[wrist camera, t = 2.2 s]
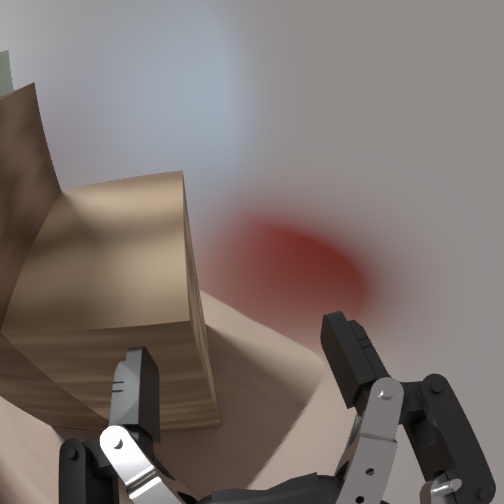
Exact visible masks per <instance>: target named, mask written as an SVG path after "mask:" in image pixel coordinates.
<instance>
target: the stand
mask: <svg viewBox="0 0 504 504" xmlns="http://www.w3.org/2000/svg"><path fill="white" fill-rule="evenodd" d="M143 346H145V347H146V348H147V350H148V352H149V353H150V355H151V357H152V358H153V360H154V361H155V363H156V365H157V367H158V370H159V407H160V431H167V430H182V429H194V428H204V427H212V426H220V425H221V420H220V415H219V409H218V404H217V398H216V392H215V386H214V380H213V374H212V368H211V361H210V354H209V348H208V341H207V333H206V326H205V320H204V315H203V309H202V304H201V298H200V292H199V287H198V280H197V274H196V268H195V262H194V255H193V249H192V242H191V234H190V227H189V219H188V212H187V204H186V195H185V187H184V178H183V171H174V172H166V173H159V174H152V175H145V176H139V177H132V178H125V179H119V180H114V181H108V182H103V183H97V184H92V185H87V186H83V187H77V188H73V189H68V190H64V191H61V189H60V186H59V183H58V180H57V177H56V173H55V170H54V167H53V164H52V160H51V157H50V153H49V149H48V146H47V142H46V138H45V134H44V130H43V126H42V121H41V117H40V112H39V107H38V102H37V96H36V90H35V84H34V83H31V84H29V85H26V86H24V87H22V88H19V89H17V90H15V91H13V92H10V93H8V94H6V95H4V96H2V97H0V396H1V397H3V398H4V399H6V400H7V401H9V402H10V403H12V404H13V405H15V406H17V407H18V408H20V409H22V410H23V411H25V412H27V413H28V414H30V415H32V416H34V417H35V418H37V419H39V420H41V421H43V422H44V423H46V424H48V425H50V426H55V427H63V428H72V429H83V430H97V431H105V430H106V429H108V426H109V421H110V408H111V397H112V393H113V391H112V387H113V384H114V383H113V378H114V371H115V369H116V367H117V365H118V363H119V362H120V361H126V354H127V350H128V348H134V347H143Z"/></svg>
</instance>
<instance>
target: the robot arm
mask: <svg viewBox="0 0 504 504" xmlns="http://www.w3.org/2000/svg"><path fill="white" fill-rule="evenodd" d="M320 339H321V345H322V348H323V350H324V353H325V355H326V358H327V360H328V362H329V365H330V367H331V370H332V372H333V375H334V377H335V379H336V382H337V384H338V386H339V389H340V392H341V394H342V397H343V399H344V401H345V404H346V406H347V409H349V408H352V407H355V408H356V411H357V415H356V418H355V421H354V424H353V428H352V431H351V434H350V437H349V440H348V443H347V445H346V448H345V451H344V453H343V455H342V457H341V459H340V462H339V464H338V467H337V469H336V472H335V474H334V476H328V475H317V473H316V472H315V473H312V474H308V475H305V476H300V477H296V478H292V479H290V480H287V481H285V482H283V483H281V484H279V485H277V486H275V487H272V488H270V489H268V490H246V489H230V490H221V491H211V495H209V496H207V497H204V498H202V499H201V500H200V499H199V498H198V497H197V496H195V495H194V494H193V493H192V492H191V491H190V490H189V489H188V488H187V487H186V486H185V485H184V484H182V483H181V482H180V481H179V480H178V479H177V478H176V477H175V476H174V475H173V474H172V472H171V471H170V470H169V469H168V468H167V467H166V466H165V464H164V463H163V462H162V461H161V460H160V458H159V457H158V456H157V455H156V454H155V452H154V451H153V443H161V442H160V407H159V370H158V367H157V365H156V363H155V361H154V360H153V358H152V357H151V355H150V353H149V352H148V350H147V348H146V347H145V346H143V347H134V348H128V350H127V354H126V361H120V362H119V363H118V365H117V367H116V369H115V371H114V378H113V383H114V384H113V387H112V391H113V393H112V397H111V408H110V421H109V426H108V429H106V430H105V431H104V432H103V434H102V435H101V436H100V437H99V438H96V439H93V440H89V441H86V442H83V443H81V442H80V441H78V440H76V439H68V440H66V441H65V442H64V443H63V444H62V445H61V448H60V455H59V504H120V503H119V490H118V476H120V477H121V479H122V480H123V482H124V483H125V484H126V486H127V494H128V496H129V497H130V499H131V500H132V501H133V502H134V504H389V503H387V502H385V501H383V500H381V499H382V496H383V493H384V490H385V487H386V484H387V481H388V478H389V474H390V471H391V468H392V464H393V460H394V457H395V453H396V448H397V441H396V440H395V435H396V431H397V427H398V425H399V424H403V426H404V429H405V431H406V433H407V436H408V438H409V440H410V443H411V445H412V448H413V450H414V453H415V455H416V458H417V460H418V463H419V466H420V468H421V471H422V473H423V476H424V479H425V481H426V483H425V484H424V485H423V487H422V489H421V491H420V504H489V503H490V502H491V501H492V499H493V498H494V495H495V491H496V486H495V482H494V479H493V477H492V474H491V472H490V469H489V466H488V464H487V461H486V459H485V457H484V454H483V452H482V450H481V448H480V445H479V443H478V441H477V438H476V436H475V434H474V432H473V430H472V428H471V425H470V424H469V421H468V419H467V417H466V415H465V413H464V411H463V409H462V407H461V405H460V403H459V401H458V399H457V398H456V396H455V394H454V392H453V390H452V388H451V386H450V384H449V383H448V381H447V379H446V378H444V377H443V376H442V375H439V374H430V375H428V376H427V377H425V379H424V380H423V381H418V382H399V381H397V380H395V379H393V378H392V377H390V375H389V374H388V373H387V371H386V369H385V367H384V366H383V363H382V361H381V359H380V358H379V356H378V354H377V352H376V350H375V348H374V346H372V343H371V341H370V339H369V338H368V336H367V334H366V332H365V330H364V328H363V327H362V326H361V325H360V324H358V323H357V322H356V321H355V320H351V321H347V320H346V318H345V316H344V314H343V313H342V312H341V311H337V312H333V313H329V314H325V315H324V316H323V321H322V329H321V336H320Z"/></svg>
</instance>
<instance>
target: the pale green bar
mask: <svg viewBox="0 0 504 504" xmlns="http://www.w3.org/2000/svg"><path fill="white" fill-rule="evenodd" d="M12 91H13V85H12V79H11V71H10V62H9V53H8V50H7V51H3V52H0V97H2V96H4V95H6V94H8V93H10V92H12Z"/></svg>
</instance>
